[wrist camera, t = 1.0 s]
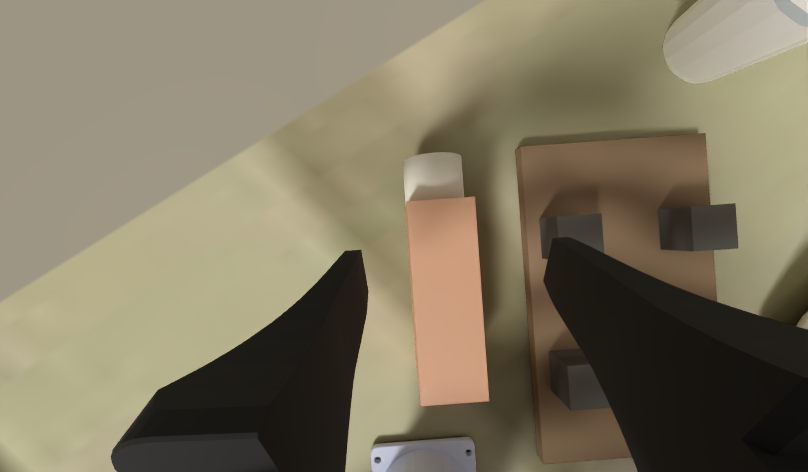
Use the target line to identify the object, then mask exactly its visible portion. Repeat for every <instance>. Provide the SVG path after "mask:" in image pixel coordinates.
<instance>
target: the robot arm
mask: <svg viewBox="0 0 808 472" xmlns="http://www.w3.org/2000/svg"><path fill="white" fill-rule="evenodd" d="M543 282H544V284H545V287H546V289H547V292H548V294H549V296H550V299H551V301H552V303H553V305H554V307H555V308H556V310H557V312H558V313H559V315H560V317H561V318H562V320H563V321H564V323H565V325H566V326H567V328H568V330H569V331H570V333H571V334H572V336H573V338H574V339H575V341H576V342H577V344H578V346H579V347H580V349H581V350H582V352H583V354H584V355H585V357H586V359H587V360H588V362H589V364H590V366H591V367H592V369H593V371H594V373H595V375H596V378H597V380H598V382H599V384H600V386H601V388H602V390H603V392H604V394H605V396H606V398H607V400H608V403H609V405H610V407H611V409H612V411H613V414H614V416H615V418H616V420H617V422H618V425H619V427H620V429H621V432H622V434H623V436H624V439H625V441H626V444H627V446H628V448H629V451H630V453H631V456H632V458H633V460H634V463H635V465H636V468H637V471H638V472H808V329H804V328H801V327H797V326H793V325H790V324H786V323H782V322H779V321H775V320H772V319H769V318H765V317H762V316H758V315H755V314H752V313H749V312H746V311H743V310H740V309H737V308H734V307H730V306H727V305H724V304H721V303H718V302H716V301H713V300H710V299H707V298H704V297H702V296H699V295H696V294H694V293H691V292H689V291H686V290H683V289H681V288H678V287H676V286H673V285H671V284H668V283H666V282H664V281H661V280H659V279H657V278H655V277H652V276H650V275H648V274H646V273H644V272H641V271H639V270H637V269H635V268H633V267H631V266H629V265H627V264H625V263H623V262H620V261H618V260H616V259H614V258H612V257H610V256H608V255H606V254H604V253H602V252H600V251H598V250H596V249H594V248H592V247H590V246H588V245H586V244H584V243H582V242H580V241H578V240H576V239H573V238H571V237H561V238H552V242H551V247H550V252H549V256H548V261H547V265H546V270H545V274H544V279H543ZM367 303H368V286H367V281H366V275H365V269H364V264H363V258H362V252H361V250H352V251H345V252H344V253H343V254H342V255H341V256H340V257H339V258H338V260H337V261H336V262H335V263H334V264H333V265H332V266H331V268H330V269H329V270H328V271H327V272H326V273H325V274H324V275H323V276H322V277H321V279H320V280H319V281H318V282H317V283H316V284H315V285H314V286H313V287H312V288H311V289H310V290H309V291H308V292H307V293H306V294H305V295H304V296H303V297H302V298H301V299H300V300H298V301H297V302H296V303H295V304H294V305H293V306H292V307H290V308H289V309H288V310H287V311H286V312H284V313H283V314H282V315H281V316H279V317H278V318H277V319H276V320H274V321H273V322H272V323H270V324H269V325H268V326H266V327H265V328H263V329H262V330H260V331H259V332H258V333H256V334H255V335H253V336H252V337H251V338H249V339H248V340H246V341H245V342H243V343H242V344H240V345H238V346H237V347H235V348H234V349H232V350H230V351H229V352H227V353H226V354H224V355H222V356H220V357H219V358H217V359H215V360H214V361H212V362H210V363H208V364H207V365H205V366H203V367H201V368H199V369H197V370H196V371H194V372H192V373H190V374H188V375H186V376H184V377H182V378H180V379H178V380H177V381H175V382H173V383H171V384H169V385H167V386H165V387H163V388H161V389H159V390H158V391H157V392H156V393H155V394H154V396H153V397H152V398H151V400H150V401H149V402H148V404H147V405H146V406H145V408H144V409H143V410H142V412H141V413H140V414H139V416H138V417H137V418H136V420H135V421H134V422H133V424H132V425H131V426H130V428H129V429H128V430H127V432H126V433H125V434H124V435H123V437H122V438H121V439H120V441H119V442H118V443H117V445H116V446H115V447H114V449H113V451H112V455H111V460H112V463H113V466H114V469H115V470H116V471H117V472H345V466H346V453H347V441H348V430H349V419H350V408H351V399H352V389H353V380H354V374H355V368H356V363H357V358H358V353H359V349H360V344H361V339H362V334H363V329H364V324H365V320H366V314H367ZM468 449H469V450H471V451H470V452H466V450H468ZM375 457H380V459H379V460H378V459H376V458H375ZM371 465H372V472H476V458H475V445H474V442H473V440H472V438H470V437H457V438H445V439H432V440H420V441H407V442H394V443H382V444H375V445H373V446H372V448H371Z"/></svg>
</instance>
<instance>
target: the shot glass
mask: <svg viewBox="0 0 808 472" xmlns="http://www.w3.org/2000/svg"><path fill="white" fill-rule="evenodd" d="M805 43H808V0H697V1H696V2H695V3H694V4H693V5H692V6H691V7H690V8H689V9H688V10H686V11H685V12H684V13H683V14H682V15H681V16H680V17H679V18H678V19H677V20H676V21H674V23H673V24H672V25H671V27H670V28H669V30H668V31H667V32H666V35H665V39H664V43H663V52H664V59H665V62H666V63H667V65H668V67H669V68H670V70H671V72H672V73H673V74H675V75H676V76H677V77H679V78H680V79H682V80H683V81H686V82H690V83H695V84H700V83H706V82H711V81H714V80H716V79H718V78H721V77H723V76H726V75H728V74H731V73H733V72H736V71H738V70H741V69H743V68H746V67H748V66H751V65H753V64H756V63H758V62H761V61H763V60H766V59H768V58H771V57H773V56H776V55H778V54H780V53H783V52H785V51H788V50H790V49H793V48H795V47H798V46H800V45H803V44H805Z"/></svg>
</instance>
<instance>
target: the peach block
mask: <svg viewBox="0 0 808 472" xmlns="http://www.w3.org/2000/svg"><path fill="white" fill-rule="evenodd" d="M403 175H404V189H405V203H406V208H405V213H406V227H407V241H408V255H409V269H410V283H411V297H412V311H413V325H414V339H415V353H416V365H417V374H418V383H419V392H420V401H421V406H432V405H445V404H459V403H472V402H485V401H489V391H488V377H487V363H486V349H485V334H484V320H483V306H482V292H481V277H480V263H479V249H478V235H477V221H476V206H475V197H464V187H463V173H462V159H461V156H460V155H459V154H456V153H450V152H434V153H425V154H420V155H416V156H412V157H409V158H407V159H405V160H404V161H403Z"/></svg>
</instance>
